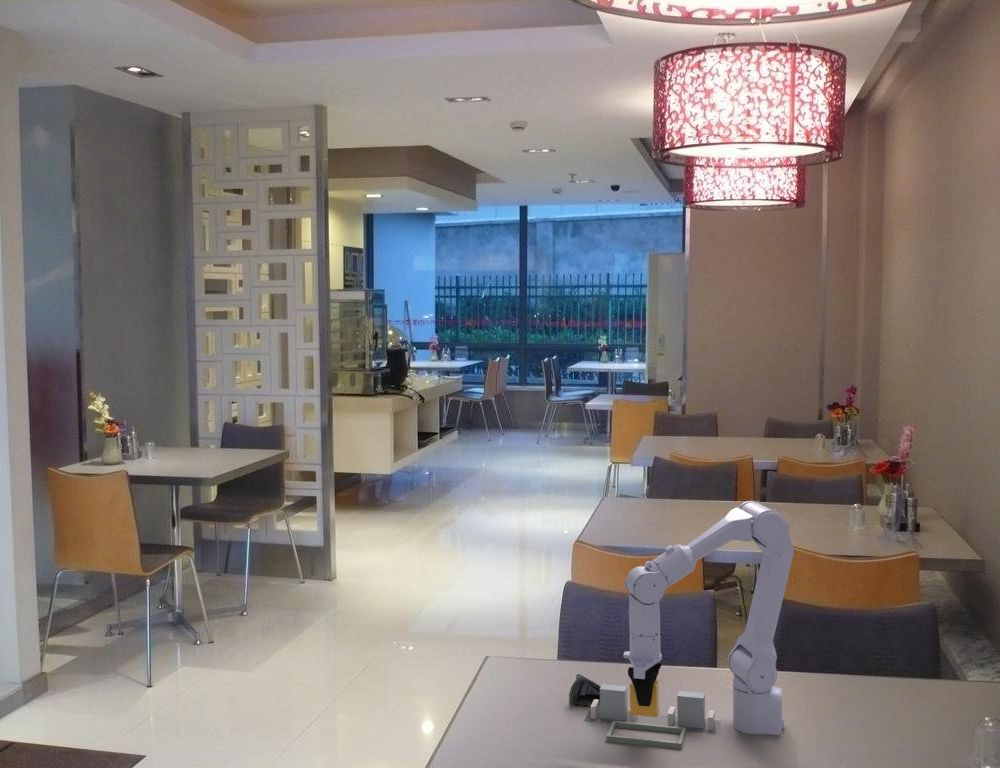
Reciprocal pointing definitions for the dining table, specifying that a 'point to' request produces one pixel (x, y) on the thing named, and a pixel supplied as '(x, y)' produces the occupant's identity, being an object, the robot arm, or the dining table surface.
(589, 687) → the chocolate cake
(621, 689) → the block
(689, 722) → the block
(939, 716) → the dining table surface
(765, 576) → the robot arm
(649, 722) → the block
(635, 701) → the block
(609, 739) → the tray
